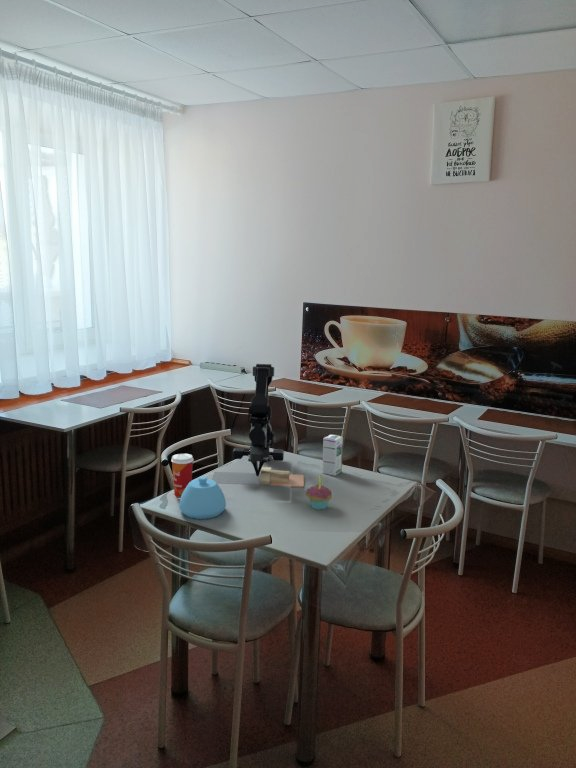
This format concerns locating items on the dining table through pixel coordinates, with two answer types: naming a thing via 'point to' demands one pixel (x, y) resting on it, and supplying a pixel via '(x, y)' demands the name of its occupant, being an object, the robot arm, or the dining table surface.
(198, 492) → the blue dome lid
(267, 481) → the t block
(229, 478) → the push board
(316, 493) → the cupcake
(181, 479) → the paper cup
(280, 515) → the dining table surface
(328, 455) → the syrup box
